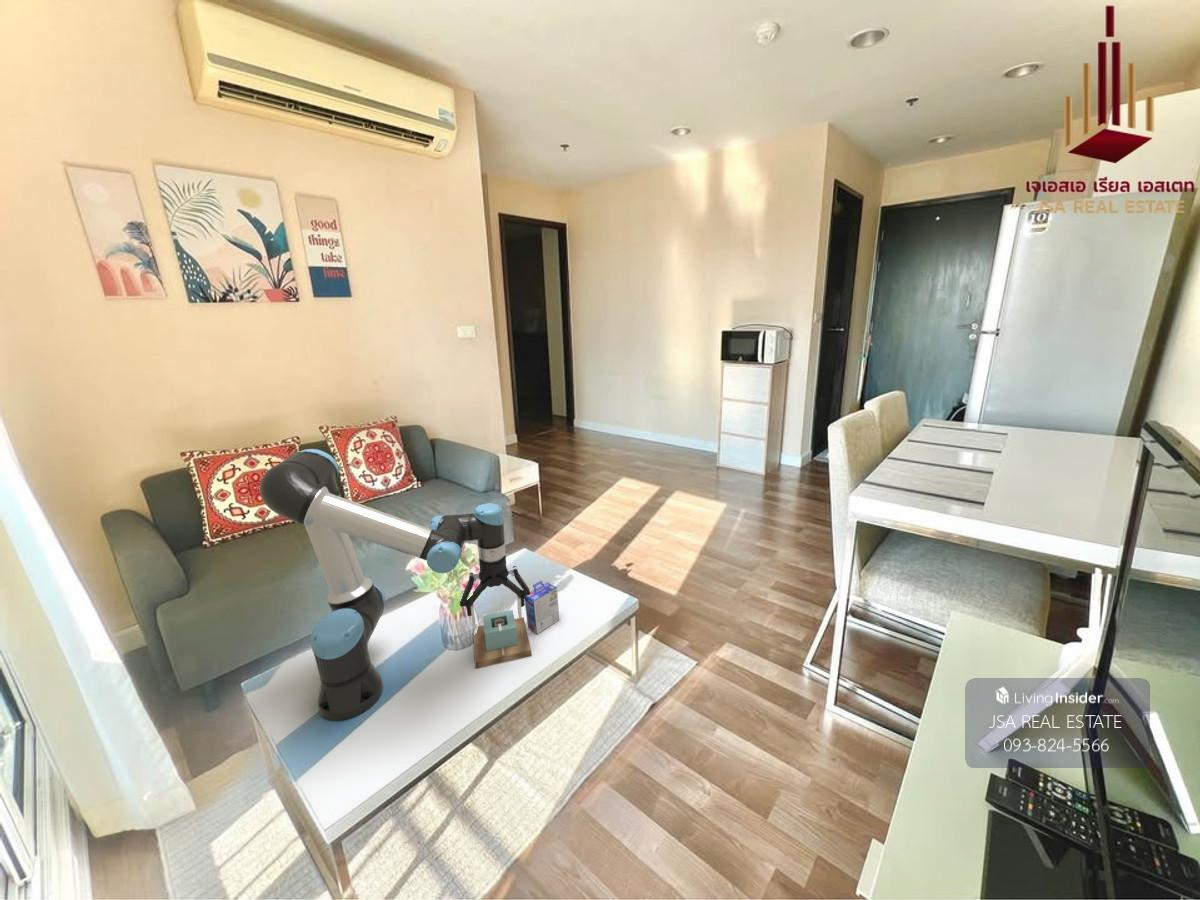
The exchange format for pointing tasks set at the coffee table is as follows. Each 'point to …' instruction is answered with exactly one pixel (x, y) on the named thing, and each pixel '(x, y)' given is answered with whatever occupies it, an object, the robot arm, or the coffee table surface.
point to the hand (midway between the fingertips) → (497, 619)
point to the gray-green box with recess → (500, 631)
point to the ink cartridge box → (542, 607)
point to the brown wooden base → (501, 654)
